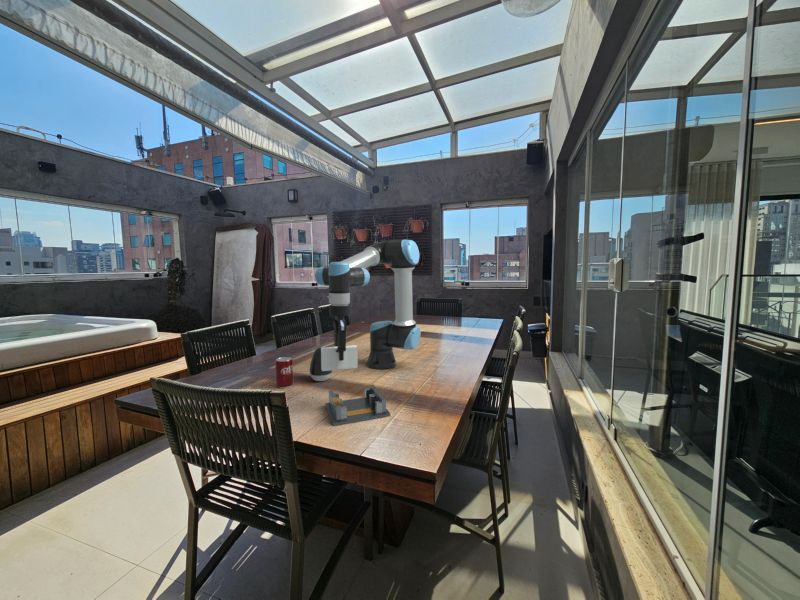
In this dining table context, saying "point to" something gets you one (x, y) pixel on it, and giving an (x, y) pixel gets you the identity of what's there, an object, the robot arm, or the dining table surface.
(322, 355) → the panel
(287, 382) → the soda can
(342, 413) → the rack
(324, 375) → the dark grey egg shape
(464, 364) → the dining table surface
